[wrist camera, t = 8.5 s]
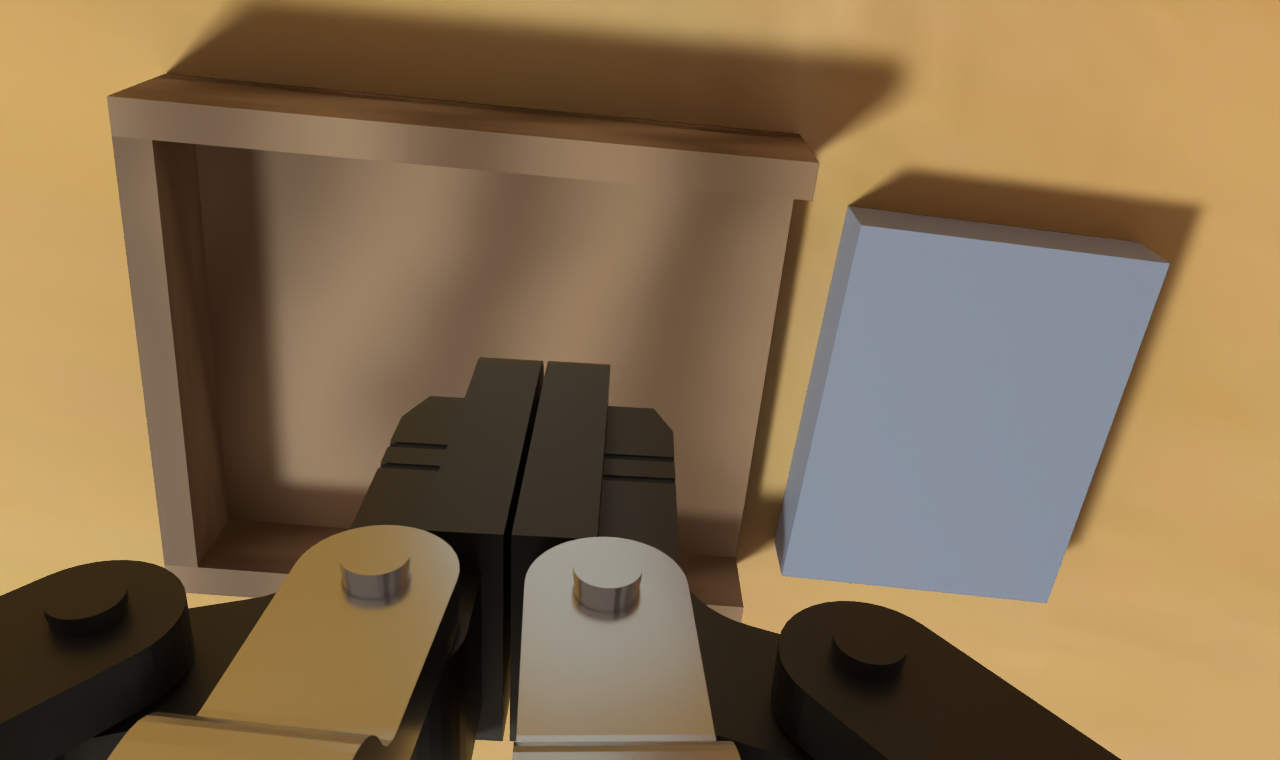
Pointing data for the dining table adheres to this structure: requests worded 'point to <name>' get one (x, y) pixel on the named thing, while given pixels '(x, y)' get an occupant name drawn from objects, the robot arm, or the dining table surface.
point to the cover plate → (960, 402)
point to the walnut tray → (430, 296)
